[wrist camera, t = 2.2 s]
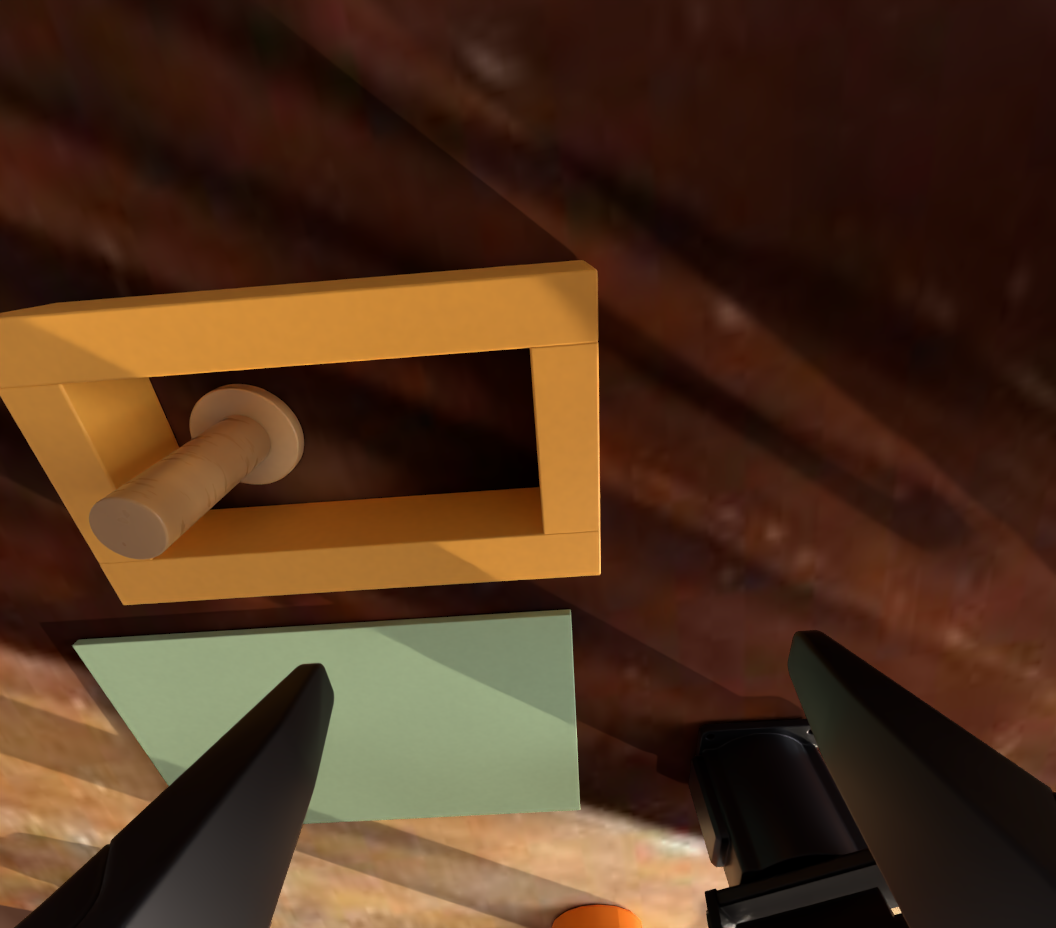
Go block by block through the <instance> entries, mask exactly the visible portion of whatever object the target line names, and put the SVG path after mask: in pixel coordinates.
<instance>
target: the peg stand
mask: <svg viewBox="0 0 1056 928" xmlns="http://www.w3.org/2000/svg"><path fill="white" fill-rule="evenodd" d="M189 427H190V434H191V438H192V440H190V441H189V442H187V443H186V444H184V445H183V446H181V447H180V448H178V449H177V450H175V451H174V452H172V453H171V454H169V455H167V456H166V457H164V458H163V459H161V460H160V461H158V462H157V463H155V464H154V465H152V466H151V467H149V468H148V469H146V470H145V471H143V472H142V473H140V474H139V475H137V476H136V477H134V478H133V479H131V480H130V481H128V482H127V483H125V484H124V485H122V486H121V487H119V488H118V489H116V490H115V491H113V492H112V493H110V494H109V495H107V496H106V497H104V498H103V499H101V500H100V501H98V502H96V503H95V504H94V506H93V507H92V509H91V511H90V514H89V523H90V527H91V529H92V531H93V533H94V535H95V536H96V537H97V539H98V540H99V541H100V542H101V543H102V544H103V545H105V546H106V547H107V548H109V549H110V550H112V551H113V552H115V553H117V554H119V555H122V556H125V557H128V558H133V559H150V558H154V557H156V556H159V555H160V554H162V553H163V552H164V551H165V550H166V549H167V548H169V547H170V546H171V545H172V544H173V543H174V542H175V541H176V540H177V539H178V538H179V537H180V536H182V535H183V534H184V533H185V532H186V531H187V530H188V529H189V528H190V527H191V526H192V525H194V524H195V523H196V522H197V521H198V520H199V519H200V518H201V517H202V516H203V515H204V514H205V513H207V512H208V511H209V510H210V509H211V508H212V507H213V506H214V505H215V504H216V503H217V502H218V501H220V500H221V499H222V498H223V497H224V496H225V495H226V494H227V493H228V492H229V491H230V490H231V489H233V488H234V487H235V486H236V485H237V484H238V483H239V482H241V483H245V484H252V485H263V484H269V483H273V482H276V481H278V480H280V479H282V478H284V477H285V476H286V475H288V474H289V473H290V472H291V471H292V470H293V469H294V467H295V466H296V465H297V464H298V462H299V461H300V459H301V457H302V454H303V450H304V436H303V431H302V428H301V425H300V423H299V421H298V419H297V417H296V416H295V414H294V413H293V411H292V410H291V409H290V408H289V407H288V406H287V405H286V404H285V403H284V402H283V401H282V400H281V399H279V398H278V397H277V396H275V395H273V394H272V393H270V392H268V391H266V390H264V389H262V388H259V387H256V386H252V385H247V384H229V385H224V386H221V387H218V388H216V389H214V390H212V391H210V392H209V393H207V394H205V395H204V396H202V397H201V398H200V399H199V400H198V401H197V403H196V404H195V406H194V408H193V410H192V412H191V416H190V422H189Z"/></svg>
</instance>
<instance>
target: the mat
mask: <svg viewBox="0 0 1056 928" xmlns="http://www.w3.org/2000/svg"><path fill="white" fill-rule="evenodd" d="M72 646H73V648H74V649H75V651H76V652H77V653H78V655H79V656H80V658H81V659H82V661H83V662H84V664H85V665H86V667H87V668H88V669H89V671H90V672H91V674H92V675H93V677H94V678H95V680H96V681H97V683H98V684H99V685H100V687H101V688H102V690H103V691H104V693H105V694H106V696H107V697H108V699H109V700H110V701H111V703H112V704H113V706H114V707H115V709H116V710H117V712H118V713H119V715H120V716H121V717H122V719H123V720H124V722H125V723H126V725H127V726H128V728H129V729H130V731H131V732H132V733H133V735H134V736H135V738H136V739H137V741H138V742H139V744H140V745H141V747H142V748H143V749H144V751H145V752H146V754H147V755H148V757H149V758H150V760H151V761H152V763H153V764H154V765H155V767H156V768H157V770H158V771H159V773H160V774H161V776H162V777H163V779H164V780H165V781H166V783H167V784H168V786H170V785H171V784H172V783H173V782H174V781H175V780H176V779H177V778H178V777H179V776H180V775H181V774H183V773H184V772H185V771H186V770H187V769H188V768H189V767H190V766H191V765H192V764H193V763H194V762H195V761H196V760H198V759H199V758H200V757H201V756H202V755H203V754H204V753H205V752H206V751H207V750H208V749H209V748H210V747H211V746H213V745H214V744H215V743H216V742H217V741H218V740H219V739H220V738H221V737H222V736H223V735H224V734H225V733H226V732H228V731H229V730H230V729H231V728H232V727H233V726H234V725H235V724H236V723H237V722H238V721H239V720H240V719H241V718H243V717H244V716H245V715H246V714H247V713H248V712H249V711H250V710H251V709H252V708H253V707H254V706H255V705H256V704H258V703H259V702H260V701H261V700H262V699H263V698H264V697H265V696H266V695H267V694H268V693H269V692H270V691H271V690H273V689H274V688H275V687H276V686H277V685H278V684H279V683H280V682H281V681H282V680H283V679H284V678H285V677H286V676H288V675H289V674H290V673H291V672H292V671H293V670H294V669H295V668H296V667H298V666H299V665H301V664H309V663H321V664H322V665H323V666H324V667H325V670H326V672H327V675H328V677H329V680H330V683H331V685H332V688H333V691H334V705H333V710H332V714H331V718H330V723H329V727H328V732H327V736H326V741H325V745H324V750H323V754H322V758H321V763H320V767H319V772H318V776H317V780H316V784H315V788H314V791H313V794H312V798H311V801H310V804H309V807H308V810H307V813H306V816H305V819H304V822H303V824H312V823H332V822H351V821H371V820H391V819H411V818H431V817H451V816H471V815H491V814H510V813H530V812H550V811H570V810H580V795H579V773H578V752H577V730H576V709H575V687H574V666H573V645H572V623H571V610H570V609H566V610H550V611H534V612H518V613H502V614H485V615H469V616H453V617H437V618H421V619H405V620H388V621H372V622H356V623H340V624H324V625H307V626H291V627H275V628H259V629H243V630H226V631H210V632H194V633H178V634H162V635H145V636H129V637H113V638H97V639H81V640H77V641H76V642H75V643H74V644H73V645H72Z"/></svg>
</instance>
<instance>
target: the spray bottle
mask: <svg viewBox="0 0 1056 928" xmlns="http://www.w3.org/2000/svg"><path fill="white" fill-rule="evenodd" d="M551 928H642V923H641V920H640V919H639V918H638V917H637V916H636V915H634V914H633V913H632V912H631V911H629V910H626V909H623V908H620V907H617V906H612V905H600V904H598V905H588V906H581V907H577V908H574V909H571V910H568V911H566V912H565V913H563V914H562V915H560V916H559V917H557V918H556V919H555V921H554V923H553V925H552V927H551Z"/></svg>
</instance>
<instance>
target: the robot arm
mask: <svg viewBox="0 0 1056 928" xmlns="http://www.w3.org/2000/svg"><path fill="white" fill-rule="evenodd" d="M788 671H789V674H790V677H791V680H792V682H793V685H794V687H795V690H796V692H797V695H798V697H799V700H800V702H801V705H802V707H803V710H804V712H805V715H806V718H807V719H795V720H777V721H759V722H740V723H722V724H707V725H704V726H702V727H701V728H700V729H699V734H698V742H697V750H696V756H694V757H693V759H692V760H691V768H690V776H689V789H690V792H691V796H692V799H693V802H694V806H695V809H696V813H697V816H698V820H699V823H700V827H701V830H702V833H703V837H704V840H705V844H706V847H707V851H708V854H709V858H710V861H711V863H712V864H713V865H714V866H716V867H724V871H725V874H726V877H727V880H728V884H729V888H725V889H722V890H718V891H717V890H716V889H712V890H709V891H705V897H706V903H707V909H708V910H707V911H706V912H707V913H706V915H707V921H708V927H709V928H1056V792H1052V790H1051V789H1050V787H1048V786H1047V785H1045V784H1044V783H1042V782H1041V781H1039V780H1038V779H1037V778H1035V777H1034V776H1032V775H1031V774H1029V773H1028V772H1026V771H1025V770H1023V769H1022V768H1020V767H1019V766H1017V765H1016V764H1015V763H1013V762H1012V761H1010V760H1009V759H1007V758H1006V757H1004V756H1003V755H1001V754H1000V753H998V752H997V751H996V750H994V749H993V748H991V747H990V746H988V745H987V744H985V743H984V742H982V741H981V740H979V739H978V738H976V737H975V736H974V735H972V734H971V733H969V732H968V731H966V730H965V729H963V728H962V727H960V726H959V725H957V724H956V723H955V722H953V721H952V720H950V719H949V718H947V717H946V716H944V715H943V714H941V713H940V712H938V711H937V710H935V709H934V708H933V707H931V706H930V705H928V704H927V703H925V702H924V701H922V700H921V699H919V698H918V697H916V696H915V695H914V694H912V693H911V692H909V691H908V690H906V689H905V688H903V687H902V686H900V685H899V684H897V683H896V682H894V681H893V680H892V679H890V678H889V677H887V676H886V675H884V674H883V673H881V672H880V671H878V670H877V669H875V668H874V667H873V666H871V665H870V664H868V663H867V662H865V661H864V660H862V659H861V658H859V657H858V656H856V655H855V654H854V653H852V652H851V651H849V650H848V649H846V648H845V647H843V646H842V645H840V644H839V643H837V642H836V641H834V640H833V639H832V638H830V637H829V636H827V635H826V634H824V633H823V632H820V631H817V630H810V631H798V632H796V633H795V634H794V636H793V640H792V645H791V649H790V654H789V658H788ZM333 705H334V691H333V688H332V685H331V683H330V680H329V677H328V675H327V672H326V670H325V667H324V666H323V665H322V664H321V663H309V664H301V665H299V666H298V667H296V668H295V669H294V670H293V671H292V672H291V673H290V674H289V675H288V676H286V677H285V678H284V679H283V680H282V681H281V682H280V683H279V684H278V685H277V686H276V687H275V688H274V689H273V690H271V691H270V692H269V693H268V694H267V695H266V696H265V697H264V698H263V699H262V700H261V701H260V702H259V703H258V704H256V705H255V706H254V707H253V708H252V709H251V710H250V711H249V712H248V713H247V714H246V715H245V716H244V717H243V718H241V719H240V720H239V721H238V722H237V723H236V724H235V725H234V726H233V727H232V728H231V729H230V730H229V731H228V732H226V733H225V734H224V735H223V736H222V737H221V738H220V739H219V740H218V741H217V742H216V743H215V744H214V745H213V746H211V747H210V748H209V749H208V750H207V751H206V752H205V753H204V754H203V755H202V756H201V757H200V758H199V759H198V760H196V761H195V762H194V763H193V764H192V765H191V766H190V767H189V768H188V769H187V770H186V771H185V772H184V773H183V774H181V775H180V776H179V777H178V778H177V779H176V780H175V781H174V782H173V783H172V784H171V785H170V786H169V787H168V788H166V789H165V790H164V791H163V792H162V793H161V794H160V795H159V796H158V797H157V798H156V799H155V800H154V801H153V802H151V803H150V804H149V805H148V806H147V807H146V808H145V809H144V810H143V811H142V812H141V813H140V814H139V815H138V816H136V817H135V818H134V819H133V820H132V821H131V822H130V823H129V824H128V825H127V826H126V827H125V828H124V829H123V830H121V831H120V832H119V833H118V834H117V835H116V836H115V837H114V838H113V839H112V840H111V843H110V844H107V845H105V846H104V847H103V848H102V849H101V850H100V851H99V852H98V853H97V854H96V855H94V856H93V857H92V858H91V859H90V860H89V861H88V862H87V863H86V864H85V865H84V866H83V867H82V868H81V869H79V870H78V871H77V872H76V873H75V874H74V875H73V876H72V877H71V878H69V879H68V880H67V881H66V882H65V883H64V884H63V885H62V886H61V887H60V888H58V889H57V890H56V891H55V892H54V893H53V894H52V895H51V896H50V897H49V898H47V899H46V900H45V901H44V902H43V903H42V904H41V905H40V906H39V907H37V908H36V909H35V910H34V911H33V912H32V913H31V914H29V915H28V916H27V917H26V918H25V919H24V920H22V921H21V922H20V923H19V924H18V925H17V926H16V927H14V928H269V926H270V923H271V920H272V917H273V914H274V911H275V907H276V904H277V901H278V898H279V895H280V892H281V889H282V886H283V883H284V880H285V877H286V874H287V871H288V868H289V865H290V862H291V859H292V856H293V853H294V850H295V847H296V844H297V841H298V838H299V835H300V832H301V829H302V825H303V822H304V819H305V816H306V813H307V810H308V807H309V804H310V801H311V798H312V794H313V791H314V788H315V784H316V780H317V776H318V772H319V767H320V763H321V758H322V754H323V750H324V745H325V741H326V736H327V732H328V727H329V723H330V718H331V714H332V710H333ZM817 747H818V748H819V750H820V752H821V755H822V757H823V759H824V761H825V762H824V761H823V759H822V757H821V755H820V753H819V751H818V750H817ZM825 763H826V764H825ZM826 765H827V766H826ZM895 907H899V908H900V910H901V912H902V913H901V914H897V915H894V914H893V912H892V910H891V908H895Z"/></svg>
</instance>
